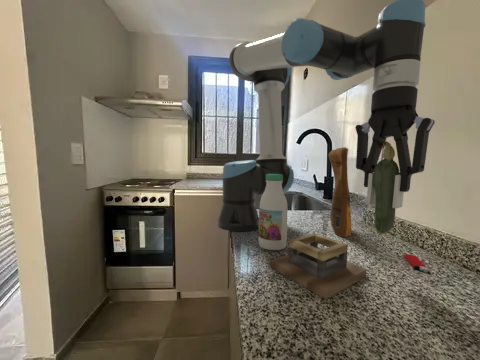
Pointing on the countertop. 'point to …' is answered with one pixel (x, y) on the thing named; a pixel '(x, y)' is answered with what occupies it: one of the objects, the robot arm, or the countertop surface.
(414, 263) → the lighter
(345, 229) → the pancake mix bag
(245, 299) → the countertop surface
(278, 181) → the milk bottle
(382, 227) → the vegetable
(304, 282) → the collar stand
